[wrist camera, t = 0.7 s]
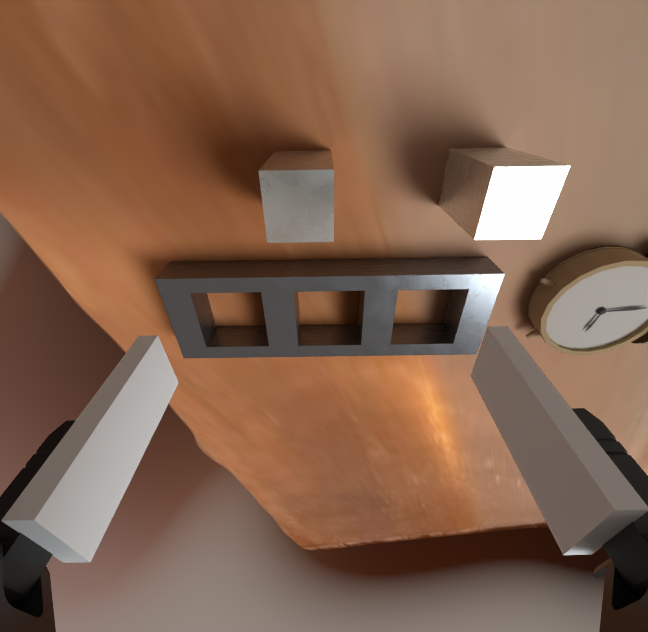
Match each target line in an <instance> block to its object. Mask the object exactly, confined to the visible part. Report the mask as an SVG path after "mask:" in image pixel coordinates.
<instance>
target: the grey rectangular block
mask: <svg viewBox="0 0 648 632" xmlns="http://www.w3.org/2000/svg"><path fill="white" fill-rule="evenodd" d="M258 172H259V180H260V188H261V196H262V204H263V212H264V220H265V228H266V236H267V243H286V242H334V166H333V160H332V153H331V150H315V151H275V152H274V153H273V154H272V155H271V156H270V158H269V159H268V160H267V161H266V162H265V164H264V165H263V166H262V167H261V168H260V169H259V171H258Z"/></svg>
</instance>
